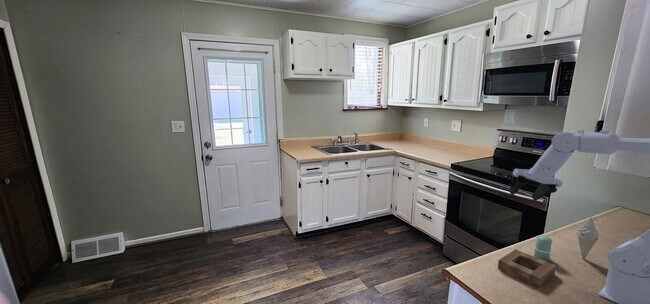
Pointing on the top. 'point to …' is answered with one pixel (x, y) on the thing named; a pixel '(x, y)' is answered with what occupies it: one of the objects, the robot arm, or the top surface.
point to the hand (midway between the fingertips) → (522, 195)
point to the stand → (536, 277)
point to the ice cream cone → (587, 237)
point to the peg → (543, 247)
